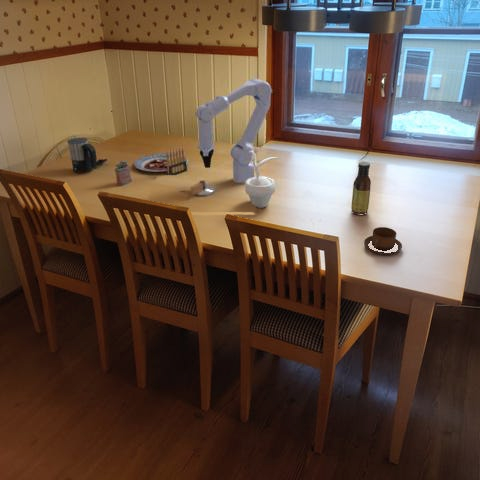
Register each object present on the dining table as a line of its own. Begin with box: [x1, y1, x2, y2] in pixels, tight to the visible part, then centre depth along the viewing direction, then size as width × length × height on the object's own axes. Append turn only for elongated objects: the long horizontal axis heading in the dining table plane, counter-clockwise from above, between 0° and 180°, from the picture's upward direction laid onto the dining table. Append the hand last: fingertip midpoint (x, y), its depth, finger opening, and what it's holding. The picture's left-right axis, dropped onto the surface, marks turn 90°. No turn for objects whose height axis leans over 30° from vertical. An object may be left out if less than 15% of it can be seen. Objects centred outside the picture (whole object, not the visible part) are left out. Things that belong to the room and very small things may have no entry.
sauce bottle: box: [350, 161, 372, 215], centre depth 177 cm, size 6×6×20 cm
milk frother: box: [66, 137, 108, 174], centre depth 227 cm, size 14×16×15 cm
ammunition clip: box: [166, 146, 188, 176], centre depth 220 cm, size 11×2×12 cm, turn 136°
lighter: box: [114, 160, 133, 187], centre depth 210 cm, size 8×3×10 cm, turn 149°
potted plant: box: [244, 147, 279, 209], centre depth 184 cm, size 13×12×25 cm
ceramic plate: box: [134, 153, 189, 173], centre depth 232 cm, size 26×26×3 cm
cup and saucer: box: [363, 226, 403, 256], centre depth 156 cm, size 12×12×6 cm
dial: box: [190, 180, 216, 197], centre depth 198 cm, size 12×10×4 cm
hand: (207, 167), depth 202 cm, fingers closed
